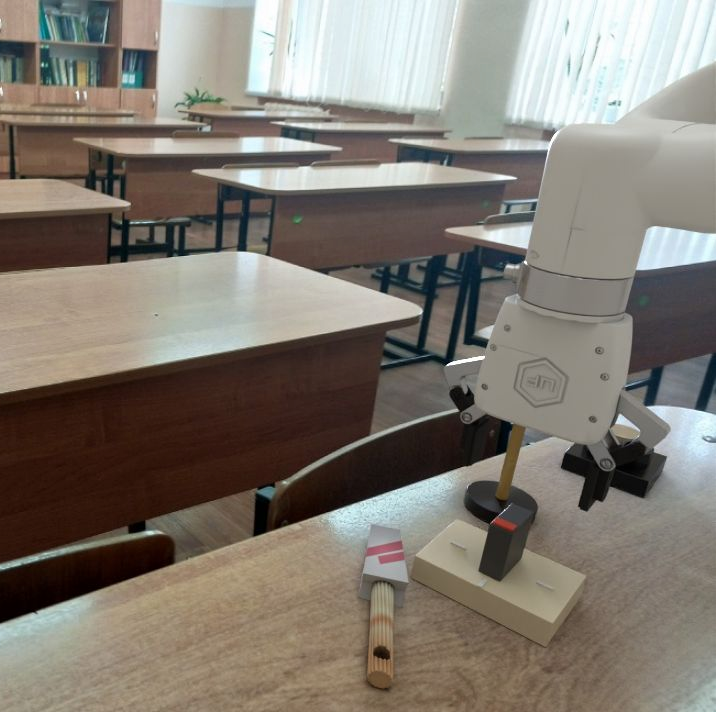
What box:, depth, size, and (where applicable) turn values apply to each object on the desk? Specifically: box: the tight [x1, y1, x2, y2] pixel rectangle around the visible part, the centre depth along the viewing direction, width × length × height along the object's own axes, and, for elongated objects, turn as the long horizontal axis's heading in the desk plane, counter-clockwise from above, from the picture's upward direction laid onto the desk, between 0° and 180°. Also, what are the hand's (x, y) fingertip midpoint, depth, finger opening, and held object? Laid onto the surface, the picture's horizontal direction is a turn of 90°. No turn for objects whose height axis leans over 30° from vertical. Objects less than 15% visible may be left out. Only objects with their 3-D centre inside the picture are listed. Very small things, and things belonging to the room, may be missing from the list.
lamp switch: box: [560, 443, 668, 499], centre depth 89 cm, size 9×9×4 cm
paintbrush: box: [357, 523, 410, 689], centre depth 64 cm, size 4×3×20 cm
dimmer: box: [410, 518, 588, 648], centre depth 66 cm, size 12×9×3 cm
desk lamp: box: [463, 423, 539, 525], centre depth 76 cm, size 8×8×19 cm
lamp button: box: [611, 423, 640, 444], centre depth 88 cm, size 4×4×2 cm
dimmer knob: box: [478, 504, 534, 581], centre depth 65 cm, size 5×2×5 cm, turn 135°
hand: (526, 481), depth 63 cm, fingers open, 9 cm apart
